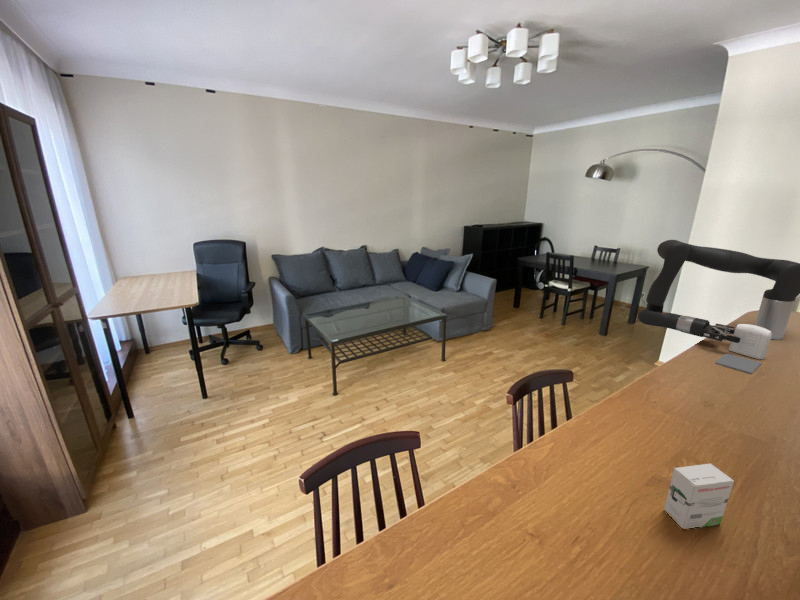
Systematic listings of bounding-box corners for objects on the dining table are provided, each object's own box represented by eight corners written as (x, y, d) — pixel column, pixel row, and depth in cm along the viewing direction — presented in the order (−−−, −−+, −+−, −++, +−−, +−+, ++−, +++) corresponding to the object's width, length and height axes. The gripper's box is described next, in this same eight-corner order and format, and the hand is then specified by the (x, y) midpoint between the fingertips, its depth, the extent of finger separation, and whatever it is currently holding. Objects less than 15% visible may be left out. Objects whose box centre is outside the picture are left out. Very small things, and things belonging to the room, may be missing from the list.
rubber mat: (725, 354, 133) (726, 353, 133) (761, 364, 125) (761, 362, 125) (714, 363, 127) (715, 362, 127) (751, 374, 119) (751, 372, 119)
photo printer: (766, 358, 129) (775, 328, 125) (761, 361, 127) (771, 331, 123) (731, 348, 138) (739, 320, 134) (726, 350, 136) (734, 322, 132)
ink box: (698, 504, 72) (711, 461, 69) (722, 526, 68) (736, 480, 64) (661, 509, 72) (672, 465, 68) (682, 531, 67) (695, 486, 63)
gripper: (687, 321, 141) (739, 333, 127) (700, 314, 148) (751, 324, 134) (683, 337, 143) (735, 351, 130) (697, 329, 150) (746, 341, 137)
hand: (743, 337), depth 132 cm, fingers open, 8 cm apart
